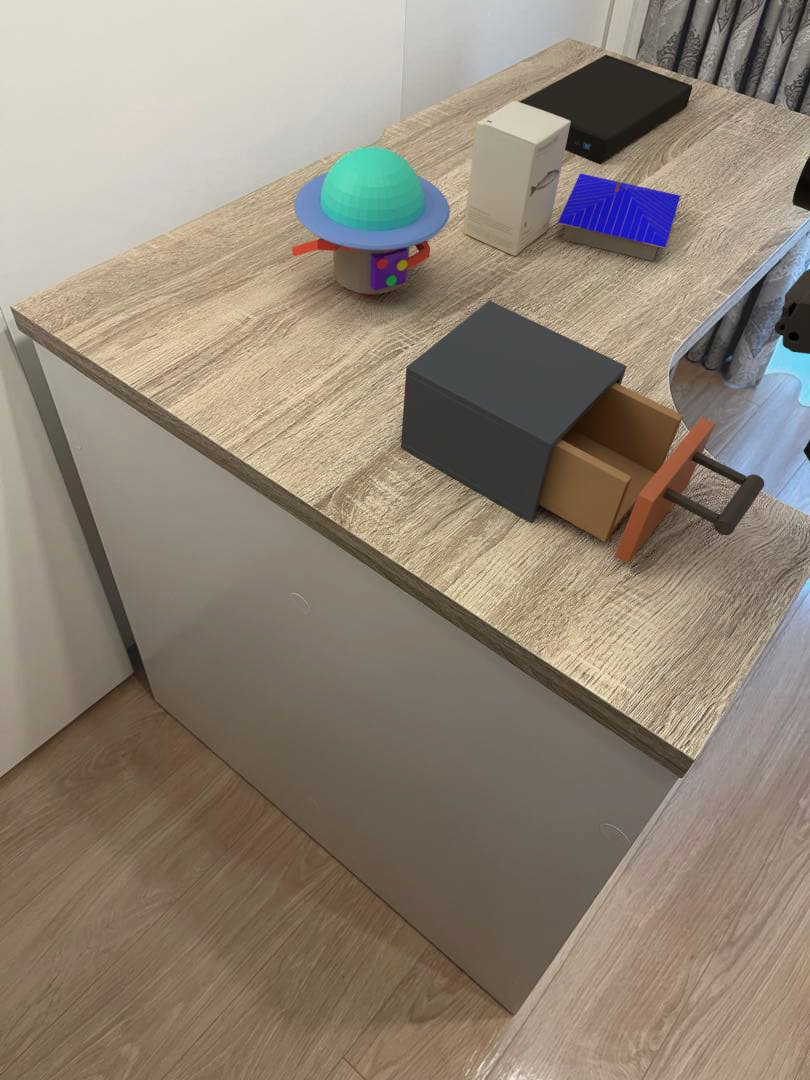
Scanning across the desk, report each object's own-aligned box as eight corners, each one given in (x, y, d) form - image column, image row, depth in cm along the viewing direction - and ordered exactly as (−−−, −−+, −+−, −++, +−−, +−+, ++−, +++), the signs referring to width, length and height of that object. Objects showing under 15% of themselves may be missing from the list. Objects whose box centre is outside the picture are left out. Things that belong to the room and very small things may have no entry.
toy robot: (399, 233, 96) (405, 104, 86) (468, 306, 88) (486, 174, 78) (274, 264, 91) (265, 131, 80) (336, 344, 83) (335, 209, 72)
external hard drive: (686, 108, 121) (693, 85, 119) (601, 164, 109) (606, 141, 107) (600, 76, 127) (604, 54, 124) (509, 126, 115) (513, 103, 112)
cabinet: (601, 445, 76) (627, 365, 69) (531, 523, 70) (551, 444, 63) (477, 380, 81) (489, 299, 74) (400, 448, 75) (406, 367, 68)
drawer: (748, 518, 70) (783, 456, 65) (692, 601, 65) (725, 540, 59) (560, 421, 77) (577, 356, 71) (494, 488, 71) (507, 423, 66)
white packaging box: (516, 258, 95) (536, 144, 85) (460, 233, 97) (474, 120, 87) (550, 231, 98) (573, 119, 89) (496, 208, 101) (513, 97, 91)
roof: (576, 191, 105) (585, 147, 100) (674, 214, 102) (688, 170, 98) (553, 241, 97) (563, 196, 93) (659, 266, 95) (673, 221, 91)
